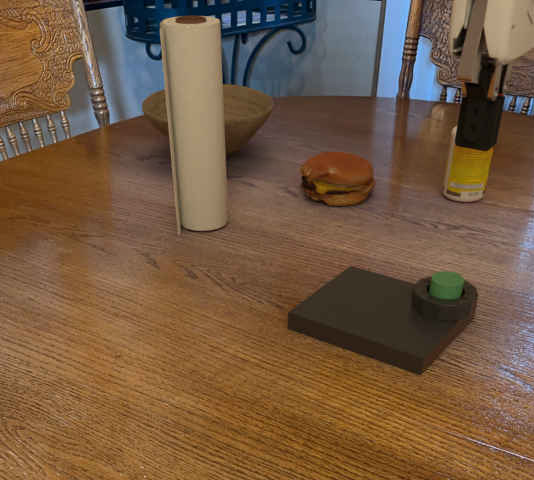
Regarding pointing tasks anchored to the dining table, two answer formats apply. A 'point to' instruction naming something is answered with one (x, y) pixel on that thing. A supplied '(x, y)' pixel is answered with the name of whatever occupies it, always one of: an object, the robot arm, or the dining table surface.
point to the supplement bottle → (466, 172)
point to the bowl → (235, 114)
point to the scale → (384, 318)
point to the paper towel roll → (196, 119)
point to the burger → (337, 178)
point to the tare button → (446, 285)
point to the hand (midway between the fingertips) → (475, 145)
